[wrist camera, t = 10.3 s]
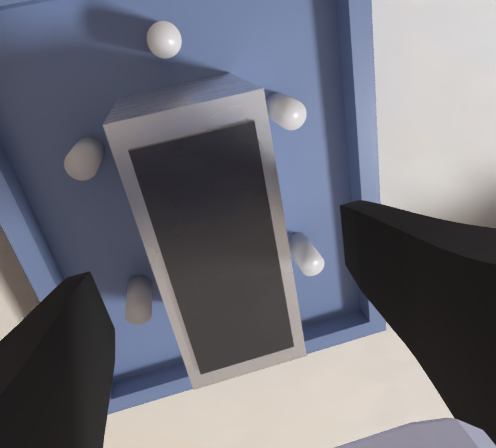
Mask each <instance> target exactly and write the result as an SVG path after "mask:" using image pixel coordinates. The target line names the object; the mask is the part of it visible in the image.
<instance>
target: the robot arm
mask: <svg viewBox="0 0 496 448" xmlns="http://www.w3.org/2000/svg"><path fill="white" fill-rule="evenodd" d="M340 214H341V225H342V236H343V246H344V257H345V265H346V267H347V268H348V270H349V272H350V274H351V275H352V277H353V279H354V280H355V282H356V283H357V285H358V287H359V288H360V290H361V291H362V292H363V294H364V295H365V296H366V297H367V299H368V300H369V301H370V302H371V304H372V305H373V306H374V307H375V308H376V310H377V311H378V312H379V313H380V314H381V316H382V317H383V318H384V319H385V320H386V322H387V323H388V324H389V325H390V326H391V328H392V329H393V330H394V331H395V332H396V334H397V335H398V336H399V337H400V338H401V340H402V341H403V342H404V343H405V344H406V346H407V347H408V348H409V350H410V351H411V352H412V354H413V355H414V356H415V358H416V359H417V361H418V362H419V364H420V365H421V367H422V368H423V370H424V371H425V373H426V374H427V376H428V377H429V379H430V380H431V382H432V383H433V385H434V386H435V388H436V389H437V391H438V393H439V394H440V396H441V397H442V399H443V401H444V402H445V404H446V405H447V407H448V408H449V410H450V412H451V413H452V415H453V416H454V418H455V419H453V418H442V419H435V420H427V421H420V422H412V423H408V424H405V425H402V426H399V427H396V428H393V429H390V430H387V431H384V432H381V433H378V434H375V435H372V436H369V437H366V438H363V439H359V440H356V441H353V442H350V443H347V444H344V445H341V446H338V447H335V448H496V228H488V227H481V226H474V225H467V224H462V223H456V222H451V221H447V220H442V219H437V218H433V217H428V216H424V215H420V214H416V213H412V212H409V211H405V210H401V209H397V208H394V207H390V206H386V205H382V204H378V203H374V202H370V201H364V200H357V201H354V202H350V203H346V204H342V205H340ZM114 366H115V328H114V325H113V323H112V321H111V318H110V316H109V314H108V311H107V309H106V307H105V304H104V302H103V300H102V297H101V295H100V293H99V290H98V288H97V286H96V283H95V281H94V279H93V276H92V274H91V272H90V271H89V272H85V273H81V274H78V275H74V276H70V277H67V278H66V279H65V280H63V281H62V282H61V283H60V284H59V285H58V286H57V287H56V288H55V289H54V290H53V291H52V292H50V293H49V294H48V295H47V296H46V297H45V298H44V299H43V300H42V301H41V302H40V303H39V304H38V305H37V306H36V307H35V308H34V309H33V310H32V311H31V312H30V313H29V314H28V315H27V316H26V317H25V318H24V319H23V320H22V321H21V322H20V323H19V324H18V325H17V326H16V327H15V328H14V329H13V330H12V331H11V332H9V333H8V334H7V335H6V336H5V337H4V338H3V339H2V340H1V341H0V448H103V442H104V434H105V427H106V420H107V414H108V407H109V401H110V394H111V388H112V381H113V373H114Z"/></svg>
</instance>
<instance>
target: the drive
mask: <svg viewBox="0 0 496 448" xmlns="http://www.w3.org/2000/svg"><path fill="white" fill-rule="evenodd" d="M103 128H104V131H105V134H106V136H107V139H108V142H109V145H110V148H111V151H112V154H113V157H114V160H115V163H116V166H117V169H118V171H119V174H120V177H121V180H122V183H123V186H124V189H125V192H126V195H127V198H128V201H129V204H130V206H131V209H132V212H133V215H134V218H135V221H136V224H137V227H138V230H139V233H140V236H141V238H142V241H143V244H144V247H145V250H146V253H147V256H148V259H149V262H150V265H151V268H152V271H153V273H154V276H155V279H156V282H157V285H158V288H159V291H160V294H161V297H162V300H163V303H164V306H165V308H166V311H167V314H168V317H169V320H170V323H171V326H172V329H173V332H174V335H175V338H176V341H177V343H178V346H179V349H180V352H181V355H182V358H183V361H184V364H185V367H186V370H187V373H188V375H189V378H190V381H191V384H192V387H193V390H195V389H198V388H201V387H205V386H208V385H211V384H215V383H218V382H221V381H225V380H228V379H231V378H235V377H238V376H241V375H244V374H248V373H251V372H254V371H258V370H261V369H264V368H268V367H271V366H274V365H277V364H281V363H284V362H287V361H291V360H294V359H297V358H301V357H304V356H307V355H306V349H305V343H304V336H303V330H302V324H301V318H300V311H299V305H298V299H297V292H296V286H295V280H294V274H293V267H292V261H291V255H290V249H289V242H288V236H287V230H286V224H285V217H284V211H283V205H282V199H281V192H280V186H279V180H278V174H277V167H276V161H275V155H274V149H273V142H272V136H271V130H270V124H269V117H268V111H267V105H266V99H265V92H264V88H262V87H260V86H258V85H255V84H253V83H251V82H249V81H247V80H245V79H243V78H241V77H238V76H236V75H234V74H232V73H226V74H222V75H217V76H213V77H208V78H204V79H199V80H195V81H190V82H186V83H181V84H176V85H172V86H167V87H163V88H158V89H154V90H149V91H145V92H140V93H136V94H131V95H126V96H122V97H118V99H117V101H116V102H115V104H114V106H113V108H112V109H111V111H110V113H109V115H108V116H107V118H106V120H105V122H104V123H103Z"/></svg>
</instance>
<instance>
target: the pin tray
mask: <svg viewBox="0 0 496 448" xmlns="http://www.w3.org/2000/svg"><path fill="white" fill-rule="evenodd" d="M226 73H232V74H234V75H236V76H238V77H241V78H243V79H245V80H247V81H249V82H251V83H253V84H255V85H258V86H260V87H262V88H264V92H265V99H266V105H267V111H268V117H269V124H270V130H271V136H272V142H273V149H274V155H275V161H276V167H277V174H278V180H279V186H280V192H281V199H282V205H283V211H284V217H285V224H286V230H287V236H288V242H289V249H290V255H291V261H292V267H293V274H294V280H295V286H296V292H297V299H298V305H299V311H300V318H301V324H302V330H303V336H304V343H305V349H306V354H309V353H312V352H315V351H319V350H322V349H325V348H329V347H332V346H335V345H338V344H342V343H345V342H348V341H352V340H355V339H358V338H361V337H365V336H368V335H371V334H375V333H378V332H381V331H385V330H386V320H385V319H384V318H383V317H382V316H381V314H380V313H379V312H378V311H377V310H376V308H375V307H374V306H373V305H372V304H371V302H370V301H369V300H368V299H367V297H366V296H365V295H364V294H363V292H362V291H361V290H360V288H359V287H358V285H357V283H356V282H355V280H354V279H353V277H352V275H351V274H350V272H349V270H348V268H347V267H346V265H345V257H344V246H343V236H342V225H341V214H340V205H342V204H346V203H350V202H354V201H357V200H364V201H370V202H374V203H378V204H380V184H379V162H378V139H377V116H376V94H375V71H374V49H373V26H372V3H371V0H0V225H1V227H2V229H3V231H4V233H5V235H6V237H7V239H8V241H9V243H10V245H11V246H12V248H13V250H14V252H15V254H16V256H17V258H18V260H19V262H20V264H21V266H22V268H23V270H24V272H25V274H26V276H27V278H28V280H29V282H30V283H31V285H32V287H33V289H34V291H35V293H36V295H37V297H38V299H39V301H40V302H41V301H42V300H43V299H44V298H45V297H46V296H47V295H48V294H49V293H50V292H52V291H53V290H54V289H55V288H56V287H57V286H58V285H59V284H60V283H61V282H62V281H63V280H65V279H66V278H67V277H70V276H74V275H78V274H81V273H85V272H89V271H90V272H91V274H92V276H93V279H94V281H95V283H96V286H97V288H98V290H99V293H100V295H101V297H102V300H103V302H104V304H105V307H106V309H107V311H108V314H109V316H110V318H111V321H112V323H113V325H114V328H115V366H114V373H113V381H112V388H111V394H110V401H109V407H108V414H111V413H114V412H118V411H121V410H124V409H128V408H131V407H134V406H138V405H141V404H144V403H147V402H151V401H154V400H157V399H161V398H164V397H167V396H170V395H174V394H177V393H180V392H184V391H187V390H190V389H193V387H192V384H191V381H190V378H189V375H188V373H187V370H186V367H185V364H184V361H183V358H182V355H181V352H180V349H179V346H178V343H177V341H176V338H175V335H174V332H173V329H172V326H171V323H170V320H169V317H168V314H167V311H166V308H165V306H164V303H163V300H162V297H161V294H160V291H159V288H158V285H157V282H156V279H155V276H154V273H153V271H152V268H151V265H150V262H149V259H148V256H147V253H146V250H145V247H144V244H143V241H142V238H141V236H140V233H139V230H138V227H137V224H136V221H135V218H134V215H133V212H132V209H131V206H130V204H129V201H128V198H127V195H126V192H125V189H124V186H123V183H122V180H121V177H120V174H119V171H118V169H117V166H116V163H115V160H114V157H113V154H112V151H111V148H110V145H109V142H108V139H107V136H106V134H105V131H104V128H103V123H104V122H105V120H106V118H107V116H108V115H109V113H110V111H111V109H112V108H113V106H114V104H115V102H116V101H117V99H118V97H122V96H126V95H131V94H136V93H140V92H145V91H149V90H154V89H158V88H163V87H167V86H172V85H176V84H181V83H186V82H190V81H195V80H199V79H204V78H208V77H213V76H217V75H222V74H226ZM108 414H107V415H108Z"/></svg>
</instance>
